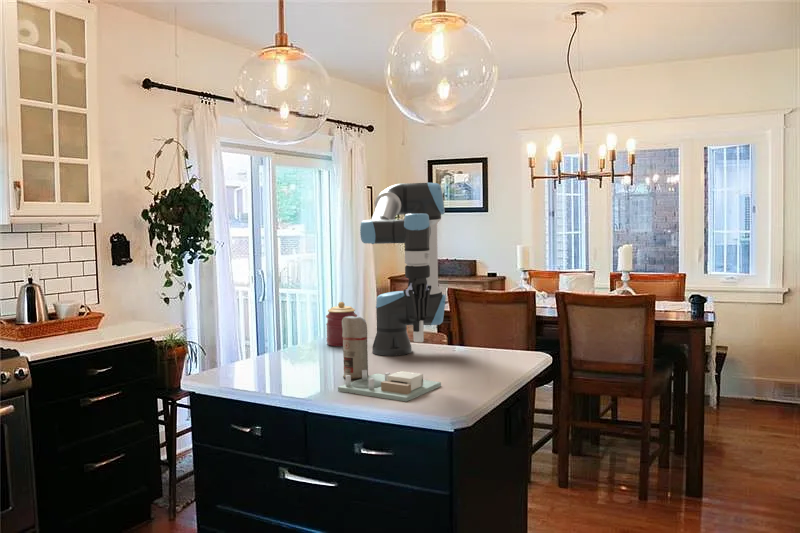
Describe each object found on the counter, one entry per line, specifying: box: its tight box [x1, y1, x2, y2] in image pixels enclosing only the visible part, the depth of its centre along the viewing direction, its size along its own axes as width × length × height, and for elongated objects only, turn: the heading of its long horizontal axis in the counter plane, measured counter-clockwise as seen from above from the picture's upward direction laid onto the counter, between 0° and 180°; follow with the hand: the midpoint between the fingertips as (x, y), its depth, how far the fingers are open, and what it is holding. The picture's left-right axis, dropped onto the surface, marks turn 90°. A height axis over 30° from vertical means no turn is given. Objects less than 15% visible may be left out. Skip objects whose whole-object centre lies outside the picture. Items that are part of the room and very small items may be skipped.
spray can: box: [342, 316, 370, 380], centre depth 213 cm, size 8×8×20 cm
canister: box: [325, 301, 358, 347], centre depth 273 cm, size 13×13×18 cm
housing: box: [388, 370, 424, 391], centre depth 194 cm, size 8×7×4 cm
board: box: [337, 370, 442, 403], centre depth 198 cm, size 24×20×4 cm
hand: (418, 341), depth 201 cm, fingers closed
